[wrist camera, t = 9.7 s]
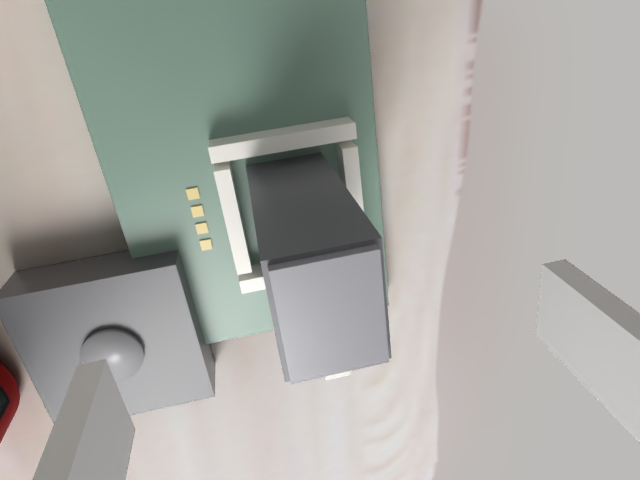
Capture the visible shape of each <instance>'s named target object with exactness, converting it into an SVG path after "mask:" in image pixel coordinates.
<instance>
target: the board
mask: <svg viewBox="0 0 640 480" xmlns="http://www.w3.org/2000/svg"><path fill="white" fill-rule="evenodd" d="M45 3H46V6H47V9H48V12H49V15H50V18H51V21H52V24H53V27H54V30H55V33H56V36H57V39H58V42H59V45H60V48H61V51H62V54H63V57H64V59H65V62H66V65H67V68H68V71H69V74H70V77H71V80H72V83H73V86H74V89H75V92H76V95H77V98H78V101H79V104H80V107H81V110H82V113H83V116H84V118H85V121H86V124H87V127H88V130H89V133H90V136H91V139H92V142H93V145H94V148H95V151H96V154H97V157H98V160H99V163H100V166H101V169H102V172H103V175H104V178H105V180H106V183H107V186H108V189H109V192H110V195H111V198H112V201H113V204H114V207H115V210H116V213H117V216H118V219H119V222H120V225H121V228H122V231H123V234H124V237H125V239H126V242H127V245H128V248H129V251H130V254H131V257H132V258H138V257H143V256H148V255H153V254H159V253H164V252H169V251H174V250H179V253H180V256H181V260H182V263H183V267H184V270H185V273H186V277H187V280H188V284H189V287H190V291H191V294H192V298H193V301H194V305H195V308H196V312H197V315H198V319H199V322H200V326H201V329H202V333H203V336H204V340H205V343H206V344H211V343H215V342H220V341H225V340H230V339H234V338H239V337H244V336H248V335H253V334H258V333H262V332H267V331H272V330H274V326H273V321H272V317H271V312H270V307H269V302H268V297H267V292H266V287H265V283H264V278H263V273H262V268H261V263H260V257H259V251H258V244H257V237H256V231H255V224H254V217H253V211H252V204H251V197H250V191H249V184H248V177H247V171H246V165H250V164H256V163H262V162H267V161H273V160H279V159H284V158H290V157H296V156H302V155H307V154H313V153H319V152H321V153H322V154H323V156H324V157H325V158H326V160H327V161H328V163H329V164H330V165H331V167H332V168H333V170H334V171H335V172H336V174H337V175H338V177H339V178H340V179H341V181H342V182H343V184H344V185H345V186H346V188H347V189H348V191H349V192H350V193H351V195H352V196H353V198H354V199H355V200H356V202H357V203H358V205H359V206H360V207H361V209H362V210H363V212H364V213H365V214H366V216H367V217H368V219H369V220H370V221H371V223H372V224H373V225H374V227H375V228H376V230H377V231H378V232H379V234H380V235H381V237H382V243H383V256H384V269H385V282H386V295H387V306H389V301H388V288H387V275H386V261H385V248H384V235H383V222H382V209H381V196H380V182H379V169H378V156H377V143H376V130H375V117H374V104H373V90H372V77H371V64H370V51H369V38H368V25H367V12H366V0H45Z"/></svg>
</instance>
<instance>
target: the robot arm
mask: <svg viewBox="0 0 640 480" xmlns="http://www.w3.org/2000/svg"><path fill="white" fill-rule="evenodd" d="M537 315H538V316H537V325H536V334H535V335H536V336H537V337H538V338H539V339H540V341H542V342H543V343H544V345H545V346H546V347H547V348H548V349H549V350H550V351H551V352H552V353H553V354H554V355H555V356H556V357H557V358H558V359H559V360H560V361H561V362H562V363H563V364H564V365H565V366H566V367H567V368H568V369H569V370H570V371H571V372H572V374H573V375H574V376H575V377H576V378H577V379H578V380H579V381H580V382H581V383H582V384H583V385H584V386H585V387H586V388H587V389H588V390H589V391H590V392H591V393H592V394H593V395H594V396H595V397H596V398H597V399H598V400H599V401H600V402H601V403H602V404H603V406H604V407H605V408H607V410H608V411H609V412H610V413H611V414H612V415H613V416H614V417H615V418H616V419H617V420H618V421H619V422H620V423H621V424H622V425H623V426H624V427H625V428H626V429H627V430H628V431H629V432H630V433H631V434H632V435H633V436H634V438H635V439H636V440H637V441H638V442H639V443H640V313H638V312H637V311H636V310H635V309H633V308H632V307H630V306H629V305H628V304H626V303H625V302H623V301H622V300H621V299H619V298H618V297H617V296H615V295H614V294H612V293H611V292H610V291H608V290H607V289H606V288H604V287H603V286H601V285H600V284H599V283H597V282H596V281H594V280H593V279H592V278H590V277H589V276H588V275H586V274H585V273H583V272H582V271H581V270H579V269H578V268H577V267H575V266H574V265H572V264H571V263H570V262H568V261H567V260H566V259H564V260H560V261H555V262H551V263H546V264H543V265H542V274H541V285H540V294H539V305H538V314H537ZM134 433H135V427H134V425H133V423H132V420H131V418H130V415H129V413H128V411H127V408H126V406H125V404H124V401H123V399H122V396H121V394H120V392H119V389H118V387H117V384H116V382H115V380H114V377H113V375H112V372H111V370H110V368H109V365H108V363H107V361H106V359H102V360H98V361H93V362H89V363H84V364H79V365H77V367H76V369H75V372H74V375H73V377H72V380H71V382H70V385H69V387H68V390H67V393H66V395H65V398H64V400H63V403H62V405H61V408H60V411H59V413H58V416H57V418H56V421H55V423H54V426H53V429H52V431H51V434H50V436H49V439H48V441H47V444H46V447H45V449H44V452H43V454H42V457H41V459H40V462H39V464H38V467H37V470H36V472H35V475H34V477H33V480H125V479H126V474H127V469H128V464H129V459H130V453H131V448H132V443H133V438H134Z"/></svg>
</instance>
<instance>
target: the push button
mask: <svg viewBox="0 0 640 480" xmlns="http://www.w3.org/2000/svg"><path fill="white" fill-rule="evenodd" d="M0 319H1V321H2V323H3V325H4V327H5V329H6V331H7V333H8V335H9V336H10V338H11V340H12V342H13V344H14V346H15V348H16V350H17V352H18V354H19V356H20V358H21V360H22V362H23V364H24V366H25V368H26V370H27V372H28V374H29V376H30V378H31V380H32V382H33V384H34V386H35V388H36V390H37V392H38V394H39V396H40V398H41V400H42V402H43V404H44V406H45V407H46V409H47V411H48V413H49V415H50V417H51V419H52V421H53V423H55V421H56V418H57V416H58V413H59V411H60V408H61V405H62V403H63V400H64V398H65V395H66V393H67V390H68V387H69V385H70V382H71V380H72V377H73V375H74V372H75V369H76V367H77V365H79V364H84V363H89V362H93V361H98V360H102V359H106V361H107V363H108V365H109V368H110V370H111V372H112V375H113V377H114V380H115V382H116V384H117V387H118V389H119V392H120V394H121V396H122V399H123V401H124V404H125V406H126V408H127V411H128V413H129V415H134V414H139V413H143V412H148V411H152V410H157V409H161V408H166V407H170V406H174V405H179V404H183V403H188V402H192V401H197V400H201V399H206V398H210V397H214V396H215V361H214V357H213V354H212V350H211V347H210V344H206V343H205V340H204V336H203V333H202V329H201V326H200V322H199V319H198V315H197V312H196V308H195V305H194V301H193V298H192V294H191V291H190V287H189V284H188V280H187V277H186V273H185V270H184V267H183V263H182V260H181V256H180V253H179V250H174V251H169V252H164V253H159V254H153V255H148V256H143V257H138V258H132V257H131V254H130V251H129V250H128V251H122V252H117V253H112V254H107V255H101V256H96V257H91V258H85V259H80V260H75V261H70V262H64V263H59V264H54V265H48V266H43V267H38V268H33V269H27V270H22V271H17V272H14V273H13V275H12V276H11V277H10V278H9V280H8V281H7V282H6V283H5V285H4V286H3V287H2V288H1V289H0Z"/></svg>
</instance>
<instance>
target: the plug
mask: <svg viewBox="0 0 640 480" xmlns="http://www.w3.org/2000/svg"><path fill="white" fill-rule="evenodd" d="M246 171H247V177H248V184H249V191H250V197H251V204H252V211H253V217H254V224H255V231H256V237H257V244H258V251H259V257H260V263H261V268H262V273H263V278H264V283H265V287H266V292H267V297H268V302H269V307H270V312H271V317H272V321H273V326H274V331H275V336H276V341H277V346H278V350H279V355H280V360H281V365H282V370H283V375H284V379H285V382H288V381H290V382H291V384H294V383H299V382H303V381H307V380H312V379H316V378H321V377H325V380H330V379H334V378H339V377H343V376H347V375H351V371H352V370H356V369H360V368H365V367H369V366H374V365H378V364H382V363H387V362H389V359H390V358H391V346H390V333H389V320H388V307H387V295H386V282H385V269H384V256H383V243H382V237H381V235H380V234H379V232H378V231H377V230H376V228H375V227H374V225H373V224H372V223H371V221H370V220H369V219H368V217H367V216H366V214H365V213H364V212H363V210H362V209H361V207H360V206H359V205H358V203H357V202H356V200H355V199H354V198H353V196H352V195H351V193H350V192H349V191H348V189H347V188H346V186H345V185H344V184H343V182H342V181H341V179H340V178H339V177H338V175H337V174H336V172H335V171H334V170H333V168H332V167H331V165H330V164H329V163H328V161H327V160H326V158H325V157H324V156H323V154H322V153H321V152H319V153H313V154H307V155H302V156H296V157H290V158H284V159H279V160H273V161H267V162H262V163H256V164H250V165H246Z"/></svg>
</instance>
